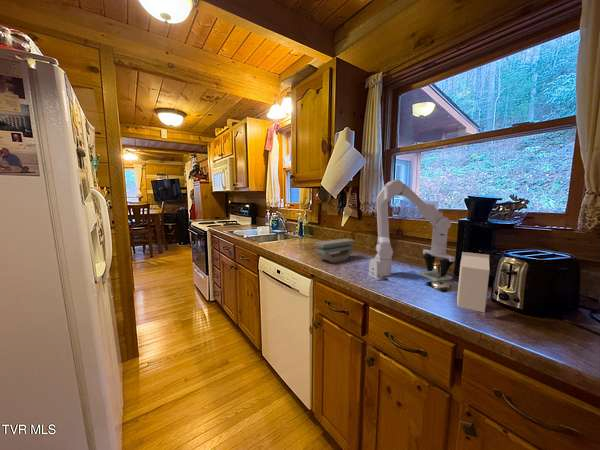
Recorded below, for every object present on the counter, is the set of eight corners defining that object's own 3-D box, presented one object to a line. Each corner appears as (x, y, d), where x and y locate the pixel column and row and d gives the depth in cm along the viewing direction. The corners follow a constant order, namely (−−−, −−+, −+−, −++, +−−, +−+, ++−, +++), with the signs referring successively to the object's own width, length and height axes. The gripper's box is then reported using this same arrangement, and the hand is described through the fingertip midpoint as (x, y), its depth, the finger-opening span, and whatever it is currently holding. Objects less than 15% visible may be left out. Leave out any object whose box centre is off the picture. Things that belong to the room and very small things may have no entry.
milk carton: (484, 316, 74) (491, 257, 72) (457, 310, 78) (462, 254, 76) (481, 308, 80) (487, 252, 78) (456, 302, 84) (461, 250, 82)
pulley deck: (443, 296, 89) (443, 287, 89) (423, 287, 98) (424, 279, 97) (468, 292, 93) (469, 283, 93) (447, 284, 102) (448, 276, 101)
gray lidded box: (322, 264, 129) (323, 244, 128) (313, 261, 136) (314, 242, 134) (354, 258, 143) (355, 240, 142) (345, 255, 150) (345, 238, 149)
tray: (435, 284, 102) (436, 278, 101) (420, 278, 109) (420, 272, 109) (451, 282, 104) (452, 276, 104) (435, 276, 112) (436, 271, 112)
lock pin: (436, 281, 104) (438, 264, 104) (429, 278, 108) (431, 262, 107) (442, 280, 106) (444, 264, 105) (435, 277, 109) (436, 261, 108)
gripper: (461, 246, 99) (458, 277, 101) (432, 239, 113) (429, 267, 115) (448, 247, 97) (445, 279, 99) (420, 240, 111) (418, 269, 112)
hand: (436, 273), depth 106 cm, fingers open, 6 cm apart
